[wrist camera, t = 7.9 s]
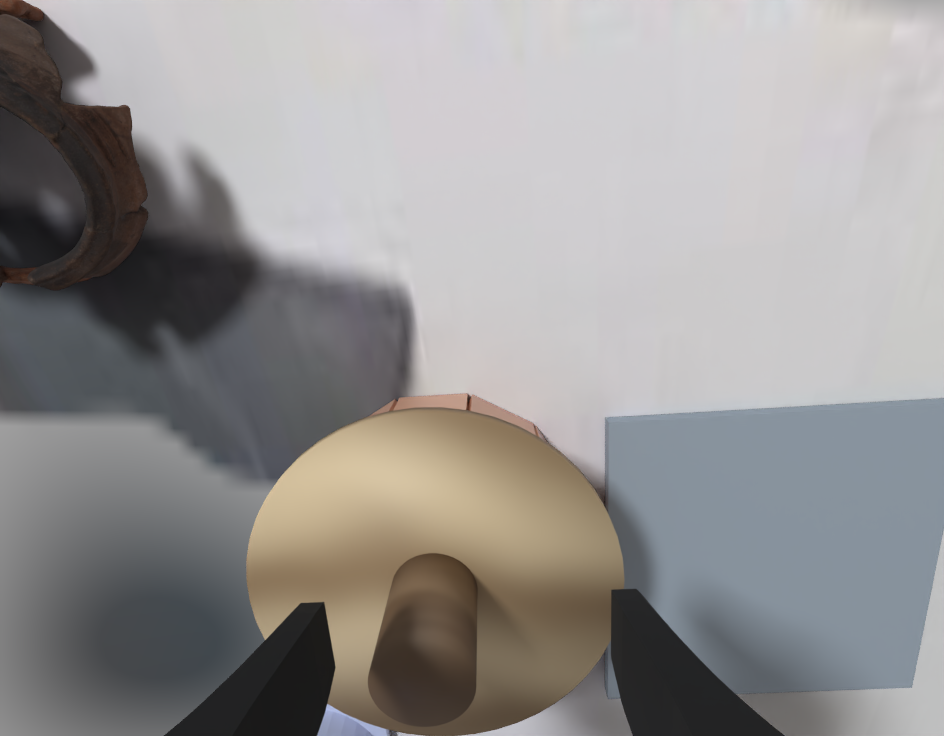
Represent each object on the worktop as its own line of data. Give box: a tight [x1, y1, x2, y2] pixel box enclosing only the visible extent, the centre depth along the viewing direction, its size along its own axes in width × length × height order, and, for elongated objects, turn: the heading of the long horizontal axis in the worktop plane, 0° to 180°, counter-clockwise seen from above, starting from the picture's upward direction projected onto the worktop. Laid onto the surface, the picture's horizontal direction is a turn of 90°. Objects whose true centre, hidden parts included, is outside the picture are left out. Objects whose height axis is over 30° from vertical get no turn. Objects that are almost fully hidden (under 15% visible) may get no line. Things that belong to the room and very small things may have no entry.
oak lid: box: [247, 407, 625, 736], centre depth 17 cm, size 14×14×5 cm
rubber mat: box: [605, 398, 944, 699], centre depth 23 cm, size 15×15×1 cm
